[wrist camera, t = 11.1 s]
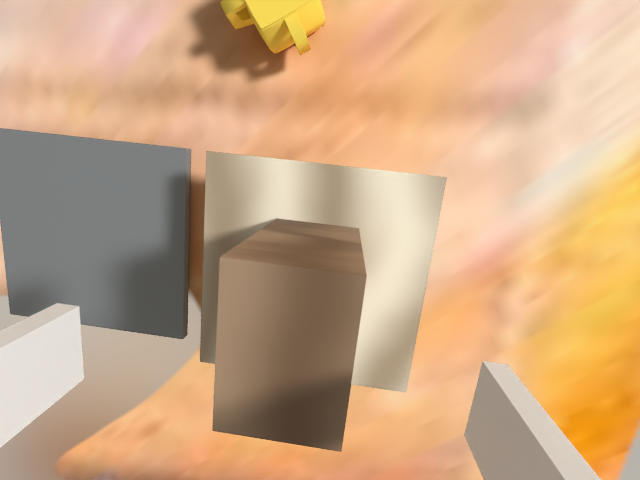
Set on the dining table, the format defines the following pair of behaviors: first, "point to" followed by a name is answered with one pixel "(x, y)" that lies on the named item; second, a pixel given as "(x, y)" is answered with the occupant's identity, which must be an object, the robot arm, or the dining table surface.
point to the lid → (310, 289)
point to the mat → (97, 229)
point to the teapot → (278, 20)
